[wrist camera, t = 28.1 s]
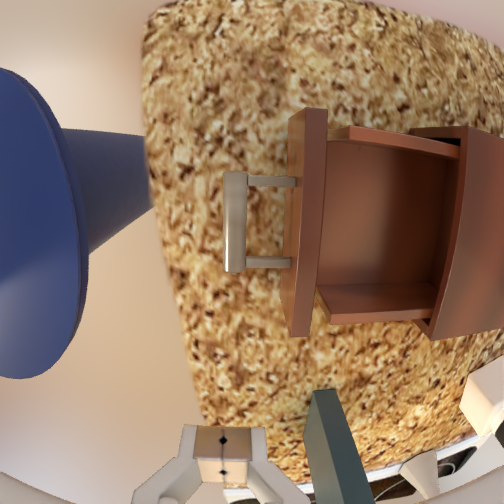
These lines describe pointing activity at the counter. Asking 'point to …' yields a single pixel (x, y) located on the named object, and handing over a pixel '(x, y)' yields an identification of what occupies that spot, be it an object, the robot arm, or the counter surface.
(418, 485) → the flask
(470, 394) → the medicine bottle
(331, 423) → the dark teal rectangular block
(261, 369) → the counter surface
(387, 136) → the drawer
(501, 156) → the cabinet
